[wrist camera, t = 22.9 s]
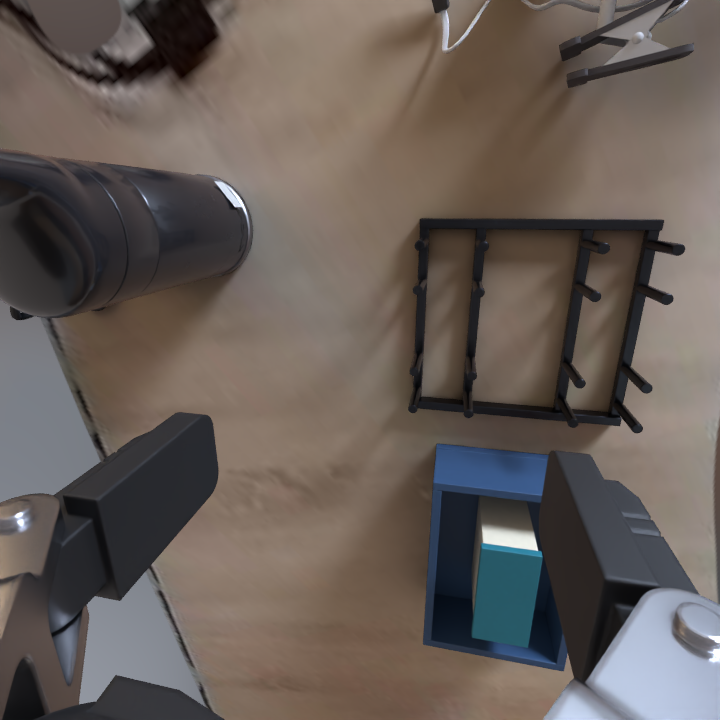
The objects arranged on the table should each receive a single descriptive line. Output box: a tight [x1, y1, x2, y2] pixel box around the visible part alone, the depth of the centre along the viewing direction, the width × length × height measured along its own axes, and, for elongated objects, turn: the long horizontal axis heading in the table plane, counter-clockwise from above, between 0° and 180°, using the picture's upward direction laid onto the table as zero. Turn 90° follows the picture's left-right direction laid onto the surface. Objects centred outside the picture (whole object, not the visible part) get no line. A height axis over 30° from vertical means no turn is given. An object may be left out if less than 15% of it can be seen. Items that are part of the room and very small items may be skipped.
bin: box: [423, 444, 568, 671], centre depth 44 cm, size 20×14×7 cm
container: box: [471, 495, 543, 648], centre depth 43 cm, size 5×10×8 cm, turn 0°
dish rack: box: [408, 218, 685, 433], centre depth 37 cm, size 19×18×6 cm
